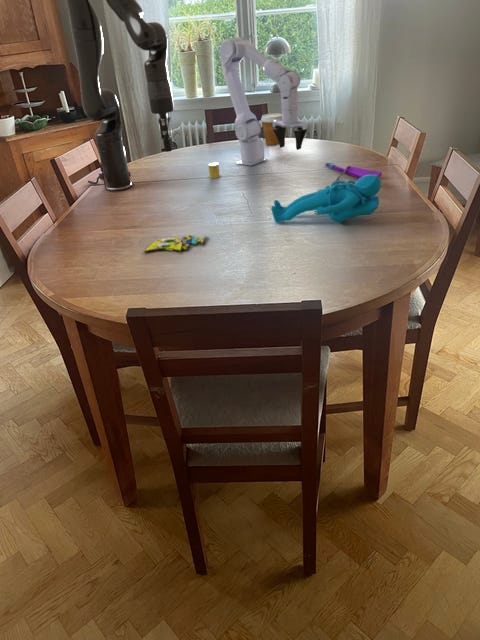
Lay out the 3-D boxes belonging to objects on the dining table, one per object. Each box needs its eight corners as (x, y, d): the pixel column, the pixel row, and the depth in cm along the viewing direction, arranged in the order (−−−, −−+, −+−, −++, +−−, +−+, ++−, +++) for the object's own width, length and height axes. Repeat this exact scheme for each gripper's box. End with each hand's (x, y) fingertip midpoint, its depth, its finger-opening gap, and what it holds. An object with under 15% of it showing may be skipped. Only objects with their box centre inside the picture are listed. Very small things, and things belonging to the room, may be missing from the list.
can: (214, 178, 179) (212, 166, 177) (207, 177, 182) (206, 164, 179) (221, 176, 181) (220, 163, 179) (215, 174, 184) (214, 162, 181)
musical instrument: (369, 191, 157) (389, 166, 169) (368, 185, 155) (389, 160, 168) (302, 188, 169) (326, 165, 182) (302, 182, 168) (325, 160, 180)
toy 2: (275, 189, 144) (378, 163, 133) (284, 222, 149) (384, 199, 138) (266, 210, 130) (379, 182, 120) (276, 245, 135) (386, 221, 125)
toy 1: (199, 248, 125) (143, 249, 127) (199, 251, 125) (144, 252, 127) (206, 233, 133) (154, 234, 135) (206, 236, 133) (154, 237, 136)
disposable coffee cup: (259, 145, 216) (257, 117, 209) (266, 140, 223) (265, 113, 216) (279, 146, 212) (278, 117, 206) (286, 140, 220) (285, 112, 213)
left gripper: (171, 97, 147) (179, 152, 155) (172, 91, 159) (180, 142, 167) (146, 100, 147) (156, 154, 155) (150, 94, 159) (159, 145, 167)
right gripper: (267, 110, 175) (268, 148, 182) (299, 112, 167) (300, 152, 174) (278, 106, 179) (279, 144, 187) (311, 108, 171) (311, 148, 178)
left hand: (169, 148), depth 161 cm, fingers open, 8 cm apart
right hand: (290, 148), depth 181 cm, fingers open, 7 cm apart
